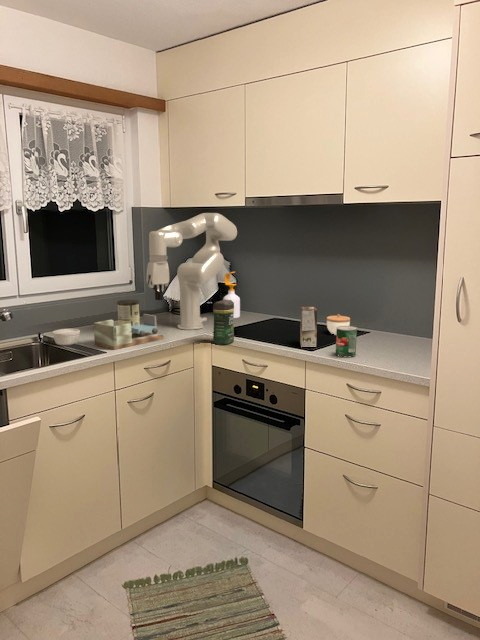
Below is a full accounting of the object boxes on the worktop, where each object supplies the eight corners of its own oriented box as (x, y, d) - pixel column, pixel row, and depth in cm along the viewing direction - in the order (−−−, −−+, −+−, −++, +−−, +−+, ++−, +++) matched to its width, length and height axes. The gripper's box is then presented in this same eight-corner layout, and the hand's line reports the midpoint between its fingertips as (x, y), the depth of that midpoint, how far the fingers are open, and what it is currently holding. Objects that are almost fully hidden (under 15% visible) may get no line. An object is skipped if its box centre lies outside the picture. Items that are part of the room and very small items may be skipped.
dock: (143, 334, 247) (142, 314, 245) (163, 338, 238) (162, 318, 236) (94, 344, 228) (93, 322, 226) (114, 349, 219) (113, 327, 217)
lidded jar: (354, 334, 247) (355, 314, 245) (339, 337, 240) (339, 317, 238) (336, 330, 255) (337, 311, 253) (321, 333, 248) (321, 313, 246)
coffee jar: (227, 346, 225) (227, 302, 222) (210, 344, 229) (210, 301, 225) (237, 341, 234) (236, 299, 230) (220, 339, 237) (220, 298, 234)
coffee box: (316, 348, 222) (317, 310, 219) (301, 348, 222) (302, 309, 219) (314, 342, 231) (315, 306, 228) (299, 342, 231) (300, 306, 228)
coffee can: (122, 327, 261) (120, 299, 259) (142, 328, 260) (141, 299, 258) (115, 332, 251) (113, 302, 249) (136, 333, 250) (135, 303, 248)
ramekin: (85, 340, 236) (84, 328, 235) (72, 346, 225) (71, 334, 224) (62, 339, 238) (61, 327, 237) (48, 345, 228) (47, 333, 227)
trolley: (144, 330, 245) (143, 313, 243) (158, 333, 238) (157, 316, 237) (126, 333, 238) (125, 316, 236) (140, 337, 231) (139, 319, 229)
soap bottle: (234, 319, 282) (233, 272, 278) (219, 317, 287) (219, 271, 282) (243, 316, 290) (243, 271, 285) (229, 314, 295) (229, 270, 290)
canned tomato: (332, 355, 210) (333, 328, 208) (339, 351, 216) (340, 324, 214) (351, 358, 206) (352, 330, 204) (358, 354, 212) (359, 326, 210)
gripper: (165, 257, 247) (166, 297, 250) (139, 259, 236) (140, 300, 239) (176, 258, 242) (176, 298, 245) (150, 260, 231) (151, 302, 235)
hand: (158, 299), depth 242 cm, fingers closed
